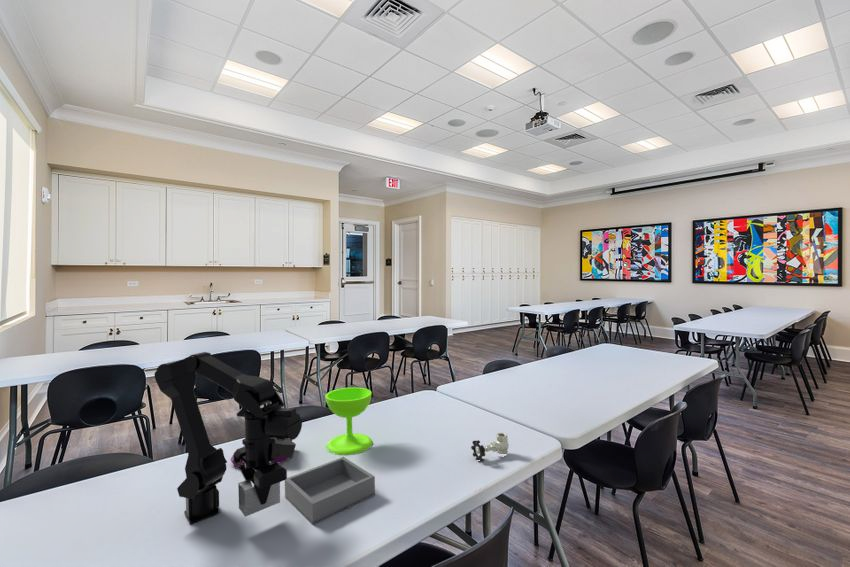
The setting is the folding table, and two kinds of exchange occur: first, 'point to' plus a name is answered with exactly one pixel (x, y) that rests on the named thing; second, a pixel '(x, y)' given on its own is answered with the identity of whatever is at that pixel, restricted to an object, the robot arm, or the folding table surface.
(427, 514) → the folding table surface
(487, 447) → the valve
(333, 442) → the wineglass
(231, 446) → the folding table surface
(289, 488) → the open box
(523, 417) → the folding table surface
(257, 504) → the grey bevelled block
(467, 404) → the folding table surface
